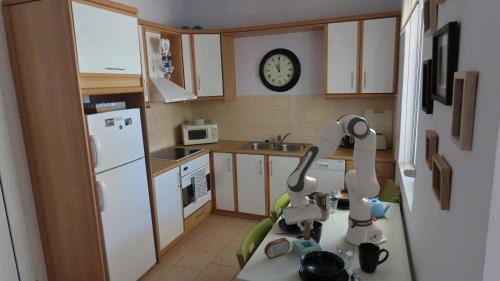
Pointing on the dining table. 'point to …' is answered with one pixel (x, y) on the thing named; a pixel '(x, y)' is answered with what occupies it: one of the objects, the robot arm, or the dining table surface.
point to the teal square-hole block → (305, 246)
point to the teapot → (377, 208)
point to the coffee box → (322, 204)
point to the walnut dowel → (306, 230)
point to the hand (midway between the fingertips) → (307, 229)
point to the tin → (276, 247)
